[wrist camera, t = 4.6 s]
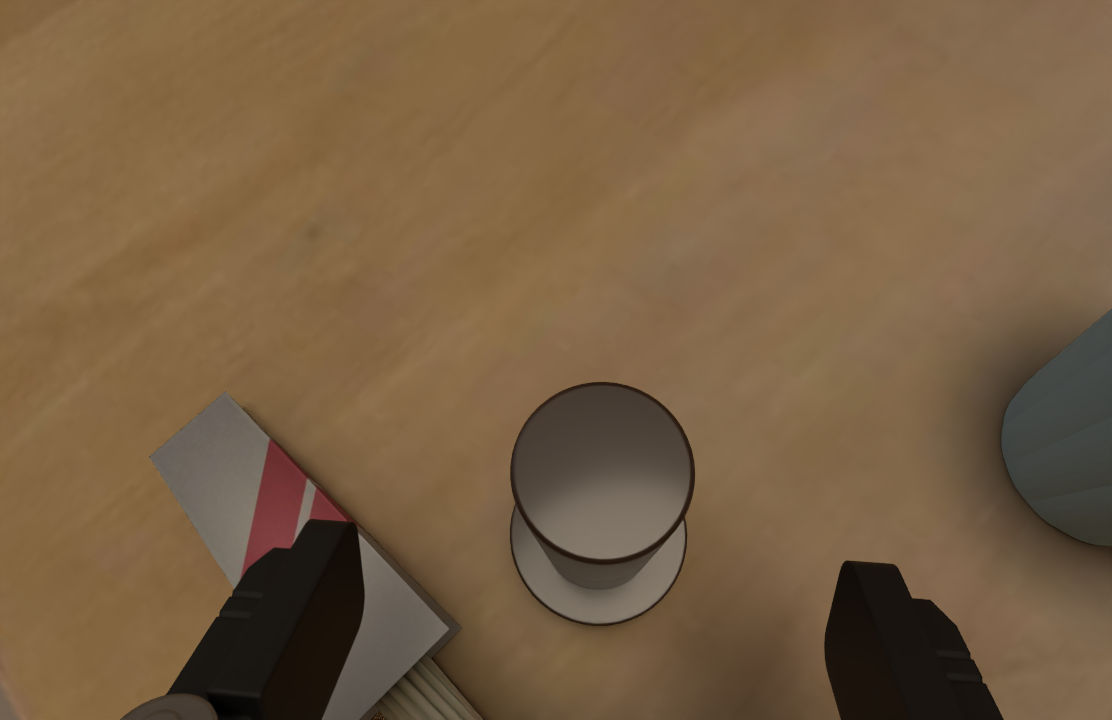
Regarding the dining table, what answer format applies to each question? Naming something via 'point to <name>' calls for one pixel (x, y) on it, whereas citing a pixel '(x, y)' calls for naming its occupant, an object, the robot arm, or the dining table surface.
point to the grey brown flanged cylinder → (600, 502)
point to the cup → (1067, 437)
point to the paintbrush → (275, 521)
